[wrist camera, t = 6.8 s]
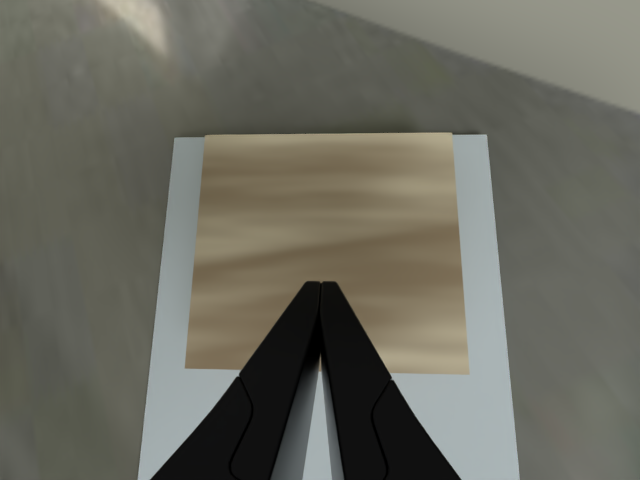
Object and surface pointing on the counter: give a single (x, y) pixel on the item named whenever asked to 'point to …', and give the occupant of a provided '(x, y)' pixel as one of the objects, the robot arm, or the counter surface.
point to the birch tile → (330, 243)
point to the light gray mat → (418, 389)
